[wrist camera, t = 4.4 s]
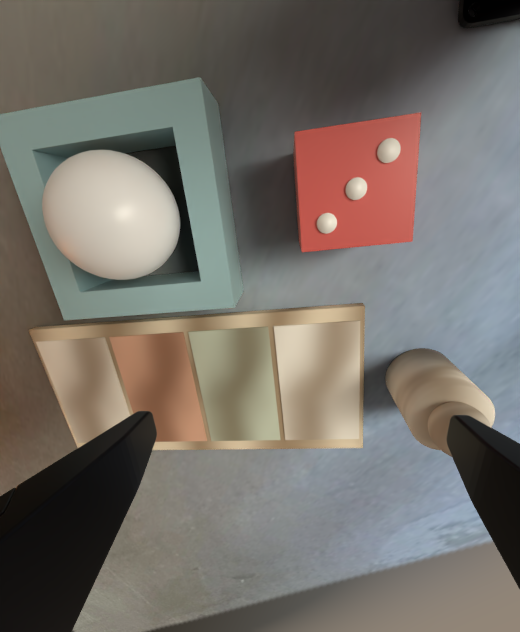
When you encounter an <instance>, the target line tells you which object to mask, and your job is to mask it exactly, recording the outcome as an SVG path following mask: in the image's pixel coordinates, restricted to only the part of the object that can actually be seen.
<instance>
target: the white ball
mask: <svg viewBox="0 0 520 632" xmlns="http://www.w3.org/2000/svg"><path fill="white" fill-rule="evenodd" d="M42 211H43V217H44V222H45V225H46V228H47V230H48V233H49V235H50V237H51V239H52V241H53V242H54V244H55V245H56V247H57V248H58V249H59V250H60V251H61V253H62V254H63V255H64V256H65V257H66V258H67V259H69V260H70V261H71V262H72V263H74V264H75V265H76V266H78V267H79V268H81V269H83V270H85V271H87V272H89V273H91V274H94V275H96V276H99V277H103V278H107V279H115V280H129V279H135V278H139V277H142V276H145V275H148V274H150V273H152V272H154V271H155V270H157V269H158V268H159V267H161V266H162V265H163V264H164V263H165V262H166V261H167V260H168V258H169V257H170V256H171V255H172V253H173V251H174V249H175V247H176V245H177V242H178V238H179V233H180V215H179V210H178V206H177V203H176V201H175V198H174V196H173V194H172V192H171V190H170V188H169V187H168V185H167V184H166V182H165V181H164V180H163V179H162V178H161V177H160V175H159V174H157V173H156V172H155V171H154V170H153V169H152V168H151V167H149V166H148V165H147V164H145V163H144V162H142V161H140V160H138V159H137V158H135V157H133V156H130V155H128V154H125V153H121V152H117V151H112V150H89V151H85V152H81V153H78V154H76V155H74V156H71V157H69V158H68V159H66V160H65V161H64V162H62V163H61V164H60V165H59V166H58V167H57V168H56V169H55V170H54V171H53V173H52V174H51V176H50V177H49V179H48V181H47V183H46V186H45V189H44V192H43V198H42Z"/></svg>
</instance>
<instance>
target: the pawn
mask: <svg viewBox="0 0 520 632" xmlns="http://www.w3.org/2000/svg"><path fill="white" fill-rule="evenodd" d="M385 382H386V386H387V388H388V390H389V392H390V394H391V396H392V398H393V399H394V401H395V403H396V405H397V407H398V409H399V410H400V412H401V414H402V416H403V418H404V420H405V421H406V423H407V425H408V427H409V429H410V431H411V432H412V434H413V436H414V437H415V438H416V440H418V441H419V442H420V443H421V444H423V445H425V446H427V447H429V448H432V449H436V450H442V451H443V452H444V453H446V454H448V455H449V456H452V455H451V453H450V450H449V448H448V445H447V440H446V438H447V432H448V427H449V422H450V418H451V417H452V416H453V415H469V416H471V417H473V418H475V419H477V420H478V421H480V422H482V423H484V424H485V425H487V426H489V427H491V428H492V425H493V422H494V419H495V409H494V406H493V404H492V402H491V400H490V399H489V398H488V397H487V396H486V395H485V394H484V393H483V392H482V391H481V390H480V389H479V388H478V387H477V386H476V385H475V384H474V383H473V382H472V381H470V380H469V379H468V378H467V377H466V376H465V375H464V374H463V373H462V372H461V371H460V370H459V369H458V368H457V367H456V366H455V365H454V364H453V363H451V362H450V361H449V360H448V359H447V358H446V357H445V356H444V355H443V354H441V353H440V352H438V351H435V350H432V349H425V348H420V349H413V350H410V351H407V352H405V353H403V354H401V355H399V356H398V357H397V358H395V359H394V360H393V361H392V363H391V364H390V365H389V367H388V369H387V371H386V376H385Z"/></svg>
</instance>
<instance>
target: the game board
mask: <svg viewBox="0 0 520 632" xmlns="http://www.w3.org/2000/svg"><path fill="white" fill-rule="evenodd" d="M364 321H365V306H364V304H363V303H357V304H343V305H330V306H316V307H302V308H289V309H275V310H262V311H248V312H234V313H221V314H207V315H193V316H180V317H166V318H152V319H139V320H125V321H112V322H98V323H84V324H71V325H57V326H43V327H34V328H32V329H30V330H29V333H30V335H31V337H32V340H33V342H34V345H35V347H36V349H37V352H38V354H39V356H40V359H41V361H42V364H43V366H44V368H45V371H46V373H47V376H48V378H49V380H50V383H51V385H52V387H53V390H54V392H55V395H56V397H57V399H58V402H59V404H60V406H61V409H62V411H63V414H64V416H65V418H66V421H67V423H68V426H69V428H70V430H71V433H72V435H73V437H74V440H75V442H76V445H77V447H78V448H79V447H81V446H82V445H84V444H86V443H87V442H89V441H90V440H92V439H94V438H95V437H97V436H99V435H100V434H102V433H103V432H105V431H107V430H108V429H110V428H111V427H113V426H115V425H116V424H118V423H119V422H121V421H123V420H124V419H126V418H128V417H129V416H131V415H132V414H134V413H136V412H137V411H150V412H152V414H153V417H154V422H155V426H156V430H157V437H156V441H155V444H154V446H153V449H152V450H202V449H302V448H363V391H364Z"/></svg>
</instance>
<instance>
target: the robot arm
mask: <svg viewBox="0 0 520 632" xmlns="http://www.w3.org/2000/svg"><path fill="white" fill-rule="evenodd" d="M469 8H473V9H474V10H475V16H474V17H473V16H470V15H469V12H468V10H469ZM515 19H520V0H460V3H459V13H458V22H459V24H460V26H462V27H463V28H471V27H477V26H482V25H488V24H493V23H498V22H504V21H509V20H515ZM156 437H157V430H156V426H155V422H154V417H153V414H152V412H150V411H137V412H136V413H134V414H132V415H131V416H129V417H128V418H126V419H124V420H123V421H121V422H119V423H118V424H116V425H115V426H113V427H111V428H110V429H108V430H107V431H105V432H103V433H102V434H100V435H99V436H97V437H95V438H94V439H92V440H90V441H89V442H87V443H86V444H84V445H82V446H81V447H79V448H78V449H76V450H74V451H73V452H71V453H69V454H68V455H66V456H65V457H63V458H61V459H60V460H58V461H57V462H55V463H53V464H52V465H50V466H48V467H47V468H45V469H44V470H42V471H40V472H39V473H37V474H36V475H34V476H32V477H31V478H29V479H28V480H26V481H24V482H23V483H21V484H19V485H18V486H17V487H16V488H13V489H11V490H10V491H8V492H6V493H5V494H3V495H2V496H0V632H72V630H73V627H74V625H75V623H76V621H77V619H78V617H79V615H80V612H81V610H82V608H83V606H84V604H85V602H86V600H87V597H88V595H89V593H90V591H91V589H92V587H93V585H94V582H95V580H96V578H97V576H98V574H99V572H100V570H101V567H102V565H103V563H104V561H105V559H106V557H107V555H108V552H109V550H110V548H111V546H112V544H113V542H114V540H115V537H116V535H117V533H118V531H119V529H120V527H121V525H122V522H123V520H124V518H125V516H126V514H127V512H128V510H129V507H130V505H131V503H132V501H133V499H134V497H135V495H136V492H137V490H138V488H139V485H140V483H141V480H142V477H143V475H144V472H145V469H146V466H147V463H148V461H149V458H150V455H151V452H152V449H153V446H154V444H155V441H156ZM446 440H447V445H448V448H449V450H450V453H451V455H452V457H453V460H454V462H455V464H456V467H457V469H458V471H459V473H460V476H461V478H462V480H463V483H464V485H465V487H466V490H467V492H468V494H469V496H470V499H471V501H472V503H473V505H474V507H475V508H476V510H477V512H478V514H479V516H480V518H481V520H482V521H483V523H484V525H485V527H486V529H487V530H488V532H489V534H490V536H491V538H492V540H493V541H494V543H495V545H496V547H497V549H498V551H499V552H500V554H501V556H502V558H503V560H504V561H505V563H506V565H507V567H508V569H509V570H510V572H511V574H512V576H513V578H514V580H515V582H516V583H517V585H518V587H519V589H520V444H519V443H517V442H516V441H514V440H512V439H510V438H509V437H507V436H505V435H503V434H501V433H500V432H498V431H496V430H494V429H493V428H491V427H489V426H487V425H485V424H484V423H482V422H480V421H478V420H477V419H475V418H473V417H471V416H469V415H453V416H452V417H451V418H450V422H449V427H448V432H447V438H446Z"/></svg>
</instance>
